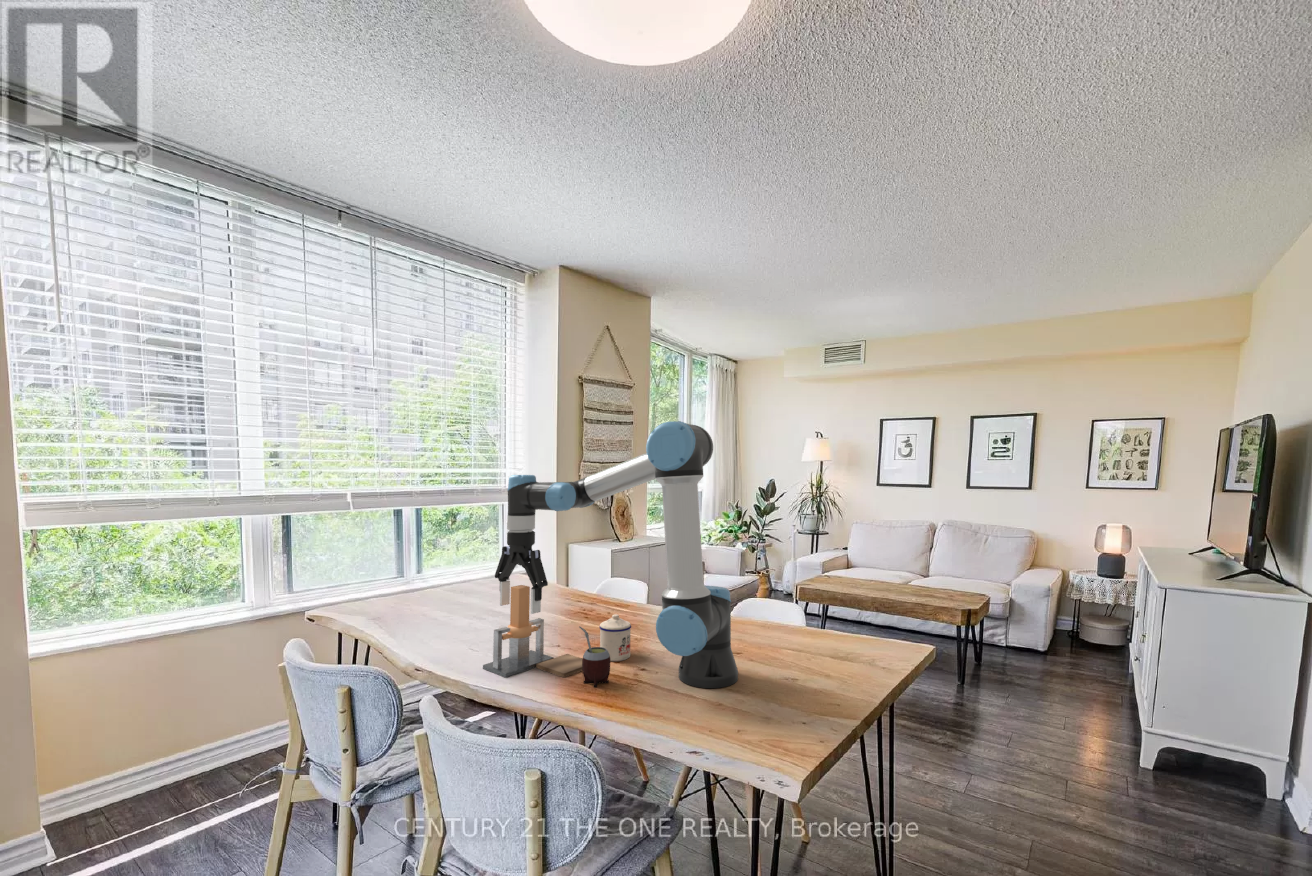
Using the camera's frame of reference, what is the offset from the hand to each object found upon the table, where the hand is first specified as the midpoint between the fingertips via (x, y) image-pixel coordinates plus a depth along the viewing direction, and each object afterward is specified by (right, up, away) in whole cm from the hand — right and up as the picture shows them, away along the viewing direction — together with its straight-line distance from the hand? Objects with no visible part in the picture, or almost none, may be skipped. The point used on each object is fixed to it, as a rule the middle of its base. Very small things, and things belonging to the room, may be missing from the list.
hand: (519, 608), depth 152 cm
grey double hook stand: (0, -15, -1) cm, 15 cm away
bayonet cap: (0, -7, 0) cm, 7 cm away
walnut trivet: (+13, -15, -2) cm, 20 cm away
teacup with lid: (+26, -16, +7) cm, 31 cm away
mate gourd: (+22, -15, -14) cm, 30 cm away
